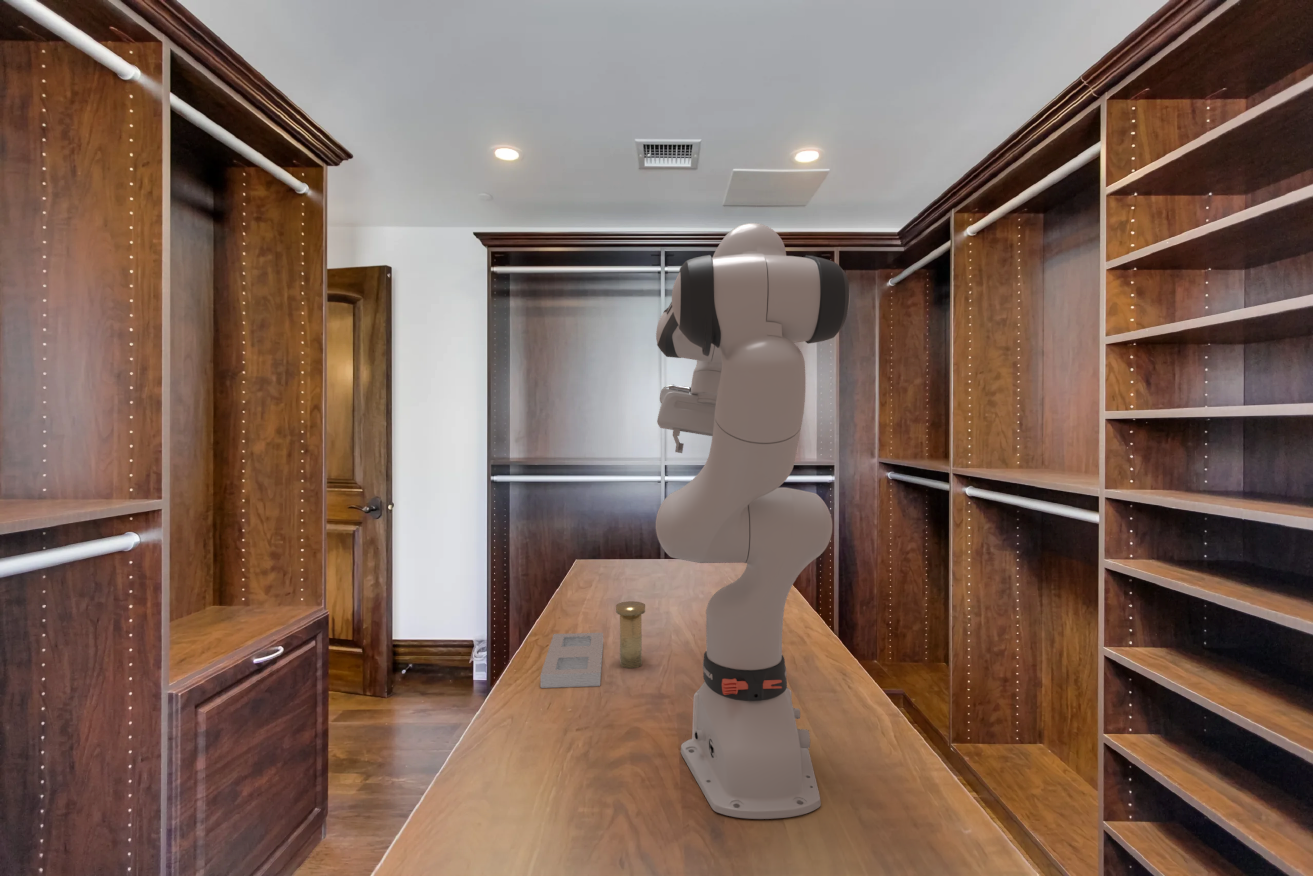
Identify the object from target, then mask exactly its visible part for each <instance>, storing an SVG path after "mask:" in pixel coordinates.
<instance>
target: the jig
mask: <svg viewBox="0 0 1313 876" xmlns="http://www.w3.org/2000/svg"><path fill="white" fill-rule="evenodd" d="M603 648H604V632H583V633H582V632H581V633H579V632H577V633H572V632H571V633H553V635H552V638H551V641H550V644H549V647H548V650H547V654H546V656H545V660H544V663H543V665H542V669H541V673H540V689H551V688H555V689H557V688H577V687H579V688H583V687H586V688H587V687H600V686H601V677H602V676H601V675H602V663H603Z"/></svg>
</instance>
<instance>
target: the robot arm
mask: <svg viewBox="0 0 1313 876" xmlns="http://www.w3.org/2000/svg"><path fill="white" fill-rule="evenodd" d="M786 251H787V250H786V247H785V244H784V241H783V240H782V238H781V236H780V235H779V234H778V233H777V232H776V231H775V230H774V229H772V228H771V227H769V226H767V225H765V224H762V223H759V222H758V223H757V222H748V223H743V224H740V225H737V226H736V227H734V228H732V229H731V230H730V231H729V232H728V233H726V234H725V236H724V237H723V239H722V240H721V241H720V243H719V245H718V246H717V248H716V249H715V251H714V253H713V256H711V254H708V255H707V254H706V255H702V256H698V257H693V258H690V259H687V260H686V261H684V263H683V264H682V265H681V266H680V268H679V271H678V274H677V276H676V278H675V281H674V284H673V287H672V292H671V302H670V303H669V306H668V307H667V308H666V309H665V310H663V313H662V315H661V316H660V318H659V320H658V322H657V326H656V333H655V334H656V335H655V337H656V346H657V347H658V349H659V350H660V352H662V353H663V354H664V356H665V357H667V358H674V359H675V358H676V359H687V360H694V361H696V364H695V368H694V369H693V373H692V377H691V378H692V379H691V385H690V386H685V385H684V386H683V385H675V384H669V385H666V386H664V387H663V388H662V389H661V390H660V395H659V401H660V402H659V403H660V408H659V411H658V415H657V419H656V424H657V425H658V427H659V428H660V429H665V430H670V431H672V437H673V440H674V443H675V444H676V445H675V453H679V454H683V451H684V443H682V442H680V440H679V437H680V435H681V434H680V433H681V432H683V433H689V434H695V435H703V436H708V437H711V444H710V449H709V453H708V456H707V459H706V462H705V464H704V466H703V467H702V468H701V470H700V471H698V473H697V474H696V476H695V477H694V478H693V479H691V480H690V481H689V482H687V484H685V485H684V486H682V487H681V488H679V489H677V490H675V491H673V492H671V493H669V494H668V495H667V496H666V497H665V498H664V500H663V501H662V503H661V504H660V506H659V508H658V510H657V512H656V513H657V514H656V519H655V532H656V537H657V540H658V543H659V544H660V546H661V548H662V550H664V553H666V554H667V555H668V557H670V558H673V559H675V560H676V559H678V560H682V561H688V562H693V563H699V564H733V563H734V564H735V563H736V564H738V563H739V564H741V563H742V564H746V566H745V569H744V571H743V573H742V574H741V575H740V577H739V578H738V579H736V580H734V581H733V582H731V583H729V584H726V585H725V586H723V587H721V588H720V589H719V590H717V591H716V592H715V593H714V594H713V595H712V596H711V598H710V599H709V601H708V603H707V606H706V610H705V613H706V620H705V621H706V624H705V626H706V628H705V629H706V631H705V632H706V644H705V645H706V651H705V652H704V653H703V661H702V670H703V676H702V677H703V683H702V685H701V686H700V687H699V689H698V690H697V691H696V692H695V693H694V694H693V706H692V729H691V730H692V733H691V734H692V735H691V738H690V739H688V740H685V741H684V742H683V743H682V744H681V746H680V753H681V756H682V758H683V759H684V761H685V764H686V765H687V767H688V769H689V770H690V772H691V774H692V776H693V778H694V780H695V782H697V784H698V786H699V788H700V790H701V792H702V794H703V795H704V796H705V799H706V800H707V802H708V804H709V805H710V808H711V809H712V810H713V811H714V812H716V813H718V814H721V815H724V816H727V817H728V816H729V817H733V818H740V819H750V820H751V819H753V820H764V819H765V820H769V819H771V820H773V819H783V818H791V817H798V816H802V815H805V814H808V813H811V812H814V811H815V810H817V809H819V808H820V807H821V805H822V804H821V803H822V802H821V795H820V792H819V788H818V787H819V786H818V783H817V779H816V775H815V770H814V766H813V762H812V758H811V754H810V751H809V749H810V748H811V737H810V736H811V735H810V731H809V730H808V729H805V728H804V729H803V728H798V726H797V721H796V720H800V719H801V709H800V708H797V707H794V706H793V702H792V694H793V693H792V690H791V689H790V688H788V681H787V674H788V673H787V666H786V661H785V656H784V655H783V651H782V650H783V625H784V612H785V607H786V602H787V598H788V595H789V593H790V591H791V589H792V586H793V585H794V583H795V582H796V580H797V578H799V576H800V574H801V573H802V572H803V571H804V569H806V567H808V565H809V564H810V563H812V562H813V561H814V560H816V559H817V558H819V557H820V556H821V554H823V553H824V552H825V551H826V549H827V547H828V546H829V543H830V541H831V538H832V535H833V534H832V533H833V519H832V515H831V512H830V510H829V507H828V506H827V504H826V503H825V501H824V500H823V498H821V496H819V494H818V493H815V492H811V491H807V490H801V489H798V488H797V489H796V488H791V487H781V485H783V484H784V482H785V481H786V480H787V479H788V477H789V476H790V475H791V473H792V471H793V469H794V465H795V460H796V455H797V450H798V444H799V439H800V435H801V429H802V425H803V424H802V423H803V420H804V419H803V418H804V413H805V403H806V361H805V358H804V355H803V353H802V351H801V349H800V347H798V346H797V345H796V344H797V343H803V342H805V343H806V344H814V343H815V344H816V343H820V342H825V341H828V340H829V341H830V340H831V339H833V338H835V337H836V335H837V334H838V333H839V332H840V331H841V330H842V329H843V327H844V326H845V322H846V319H847V316H848V312H849V308H850V302H851V301H850V299H851V292H850V284H849V278H848V276H847V273H846V272H845V270H843V268H842V267H841V266H840V265H839V264H838V263H837V262H835V261H832V260H829V259H826V258H823V257H818V256H814V255H807V254H806V255H805V256H803V257H802V256H794V255H787V252H786ZM795 343H796V344H795Z"/></svg>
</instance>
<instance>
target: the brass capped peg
mask: <svg viewBox="0 0 1313 876" xmlns="http://www.w3.org/2000/svg"><path fill="white" fill-rule="evenodd" d="M615 612H616V614H617V615H619V660H620V661H619V663H620V667H623V668H625V669H636V668H639V667H641V666H642V665H643V664H642V662H643V660H642V659H643V656H642V655H643V653H642V652H643V651H642V647H643V646H642V645H643V644H642V642H643V641H642V636H643V635H642V615H643V614H645V613H646V604H645V603H644V602H640V601H623V602H622V601H621V602H619V603H617V604H616V605H615Z"/></svg>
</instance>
